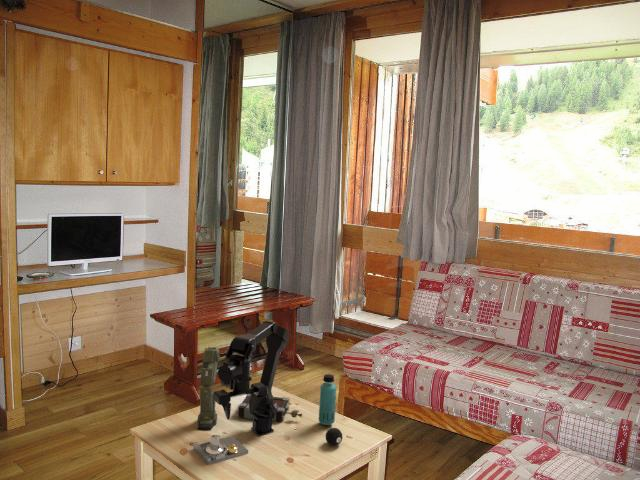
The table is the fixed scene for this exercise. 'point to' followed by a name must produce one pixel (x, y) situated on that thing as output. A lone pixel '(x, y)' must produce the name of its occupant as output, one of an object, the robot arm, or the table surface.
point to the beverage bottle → (327, 400)
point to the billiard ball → (333, 436)
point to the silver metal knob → (214, 446)
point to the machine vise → (278, 404)
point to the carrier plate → (230, 450)
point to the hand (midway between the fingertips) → (240, 416)
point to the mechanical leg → (208, 389)
